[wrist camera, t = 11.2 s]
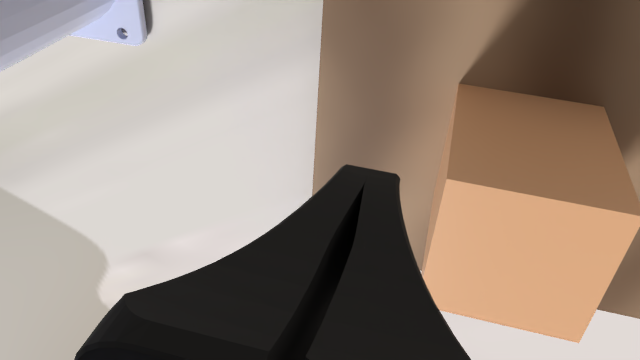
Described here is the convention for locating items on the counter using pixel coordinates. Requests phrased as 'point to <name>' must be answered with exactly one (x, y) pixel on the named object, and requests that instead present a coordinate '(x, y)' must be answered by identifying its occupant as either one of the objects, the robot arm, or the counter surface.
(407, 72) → the post board
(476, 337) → the counter surface
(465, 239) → the tan rectangular block
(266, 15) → the counter surface
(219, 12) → the counter surface
